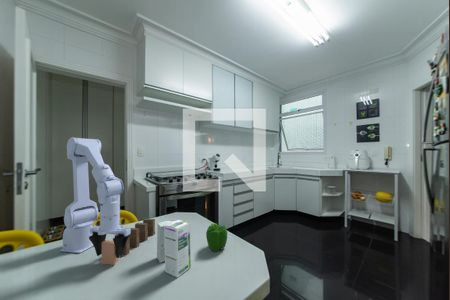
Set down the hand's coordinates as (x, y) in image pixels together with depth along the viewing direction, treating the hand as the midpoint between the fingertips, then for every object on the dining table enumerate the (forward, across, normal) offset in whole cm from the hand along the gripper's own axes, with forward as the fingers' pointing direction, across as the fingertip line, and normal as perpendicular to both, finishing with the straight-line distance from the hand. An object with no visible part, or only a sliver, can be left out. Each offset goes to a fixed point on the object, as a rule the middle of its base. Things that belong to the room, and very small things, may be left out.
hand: (109, 255), depth 60 cm
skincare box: (+3, +18, +6) cm, 19 cm away
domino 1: (+2, 0, 0) cm, 2 cm away
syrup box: (+3, +25, 0) cm, 25 cm away
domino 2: (+2, 0, +6) cm, 6 cm away
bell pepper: (+3, +34, +15) cm, 37 cm away
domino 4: (+2, 0, +16) cm, 17 cm away
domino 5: (+2, 0, +22) cm, 22 cm away
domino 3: (+2, 0, +11) cm, 11 cm away
